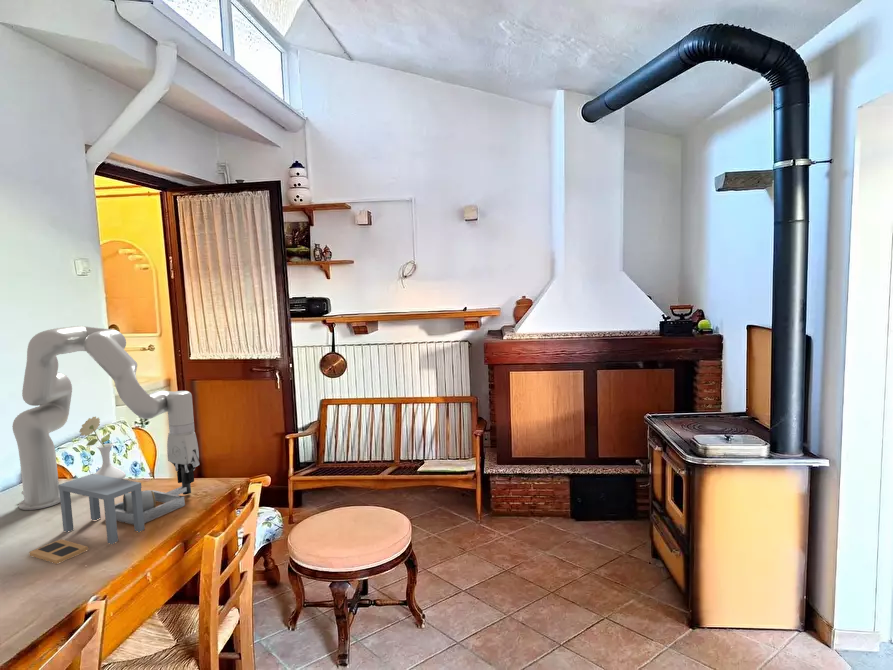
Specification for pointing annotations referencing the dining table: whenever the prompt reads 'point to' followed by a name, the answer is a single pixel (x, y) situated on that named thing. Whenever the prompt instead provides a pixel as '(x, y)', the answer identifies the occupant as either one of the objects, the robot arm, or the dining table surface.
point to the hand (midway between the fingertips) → (186, 482)
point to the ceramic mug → (147, 501)
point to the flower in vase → (101, 449)
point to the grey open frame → (169, 499)
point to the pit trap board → (58, 551)
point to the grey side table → (106, 491)
